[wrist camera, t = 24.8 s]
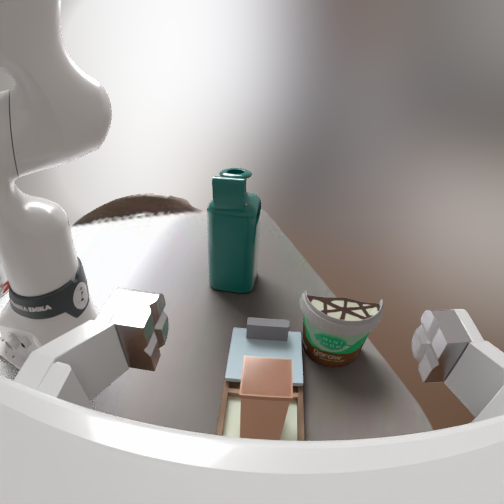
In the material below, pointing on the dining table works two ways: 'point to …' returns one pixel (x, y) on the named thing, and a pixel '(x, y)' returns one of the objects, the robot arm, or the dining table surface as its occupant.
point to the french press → (2, 280)
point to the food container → (336, 328)
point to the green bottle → (233, 232)
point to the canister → (265, 397)
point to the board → (232, 407)
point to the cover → (265, 346)
